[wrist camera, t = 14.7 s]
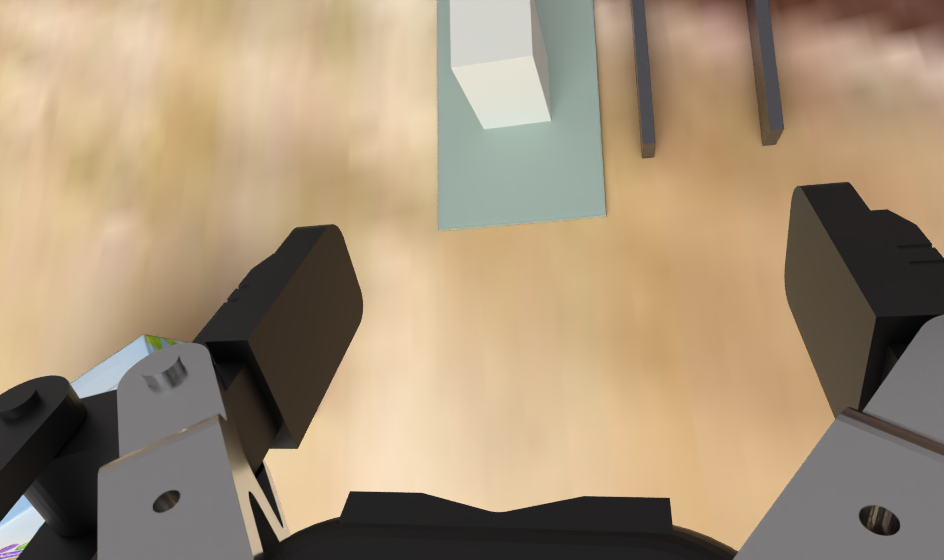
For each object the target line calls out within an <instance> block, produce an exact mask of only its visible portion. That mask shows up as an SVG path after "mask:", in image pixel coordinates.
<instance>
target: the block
mask: <svg viewBox="0 0 944 560" xmlns="http://www.w3.org/2000/svg"><path fill="white" fill-rule="evenodd" d="M450 43H451V69H452V71H453V73H454V75H455V76H456V78H457V80H458V82H459V84H460V86H461V88H462V90H463V91H464V93H465V95H466V97H467V99H468V101H469V103H470V104H471V106H472V108H473V110H474V112H475V114H476V116H477V118H478V119H479V121H480V123H481V125H482V127H483V129H491V128H499V127H507V126H515V125H522V124H530V123H538V122H546V121H551V106H550V87H549V68H548V56H547V52H546V48H545V44H544V39H543V35H542V31H541V27H540V23H539V19H538V15H537V11H536V7H535V3H534V0H450Z"/></svg>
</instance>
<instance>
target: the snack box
mask: <svg viewBox="0 0 944 560" xmlns="http://www.w3.org/2000/svg"><path fill="white" fill-rule="evenodd" d="M181 343H190V342H184V341H178V340H173V339H167V338H161V337H156V336H150V335H142V336H140V337H139V338H137V339H136V340H134V341H133V342H131V343H130V344H128V345H127V346H126V347H124V348H123V349H121V350H120V351H118V352H117V353H115V354H114V355H112V356H111V357H109V358H108V359H106V360H104V361H103V362H101V363H100V364H98V365H97V366H95V367H94V368H92V369H91V370H89V371H88V372H86V373H85V374H83V375H82V376H81V377H79V378H78V379H76V380H75V381H73V382H71V383H70V385H71V386H72V388H73V389H74V391H75V392H76V393H77V395H78V396H79V398H84V397H88V396H92V395H96V394H100V393H104V392H108V391H112V390H116V389H117V387H118V384H119V382H120V380H121V378H122V377H123V375H124V374H125V373H126V372H127V371H128V370H129V369H130V368H131V367H132V366H133V365H135V364H136V363H137V362H138V361H140V360H141V359H143V358H144V357H146V356H148V355H150V354H152V353H153V352H156V351H158V350H160V349H163V348H165V347H168V346H172V345H175V344H181ZM44 522H45V520H44V519H43V518H42V516H41V515H40V514H39V513H38V512H37V510H36V509H35V508H34V507H33V506H32V505H31V503H30V502H29V501H28V500H27V499H26V497H25V496H24V495H22V497H21V498H20V499H19V500H18V501H17V503H16V504H15V505H14V506H13V508H12V509H11V510H10V511H9V512H8V514H7V515H6V516H5V517H4V518H3V520H2V521H1V522H0V560H16V559H17V557H18V556H19V555H20V553H21V552H22V551H23V549H24V548H25V547H26V546H27V544H28V543H29V542H30V540H31V539H32V538H33V536H34V535H35V534H36V532H37V531H38V530H39V528H40V527H41V526H42V524H43V523H44Z"/></svg>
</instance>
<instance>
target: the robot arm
mask: <svg viewBox="0 0 944 560" xmlns="http://www.w3.org/2000/svg"><path fill="white" fill-rule="evenodd" d="M238 286H239V289H235V290H234V292H233V293H232V294H231V295H230V296H229V298H228V299H227V300H228V302H227V303H224V304H223V305H222V306H221V308H220V309H219V310H218V311H217V312H216V314H215V315H214V316H213V317H212V319H211V320H210V321H209V322H208V323H207V325H206V326H205V327H204V328H203V330H202V331H201V332H200V333H199V335H198V336H197V337H196V338H195V339H194V341H193V342H192V343H181V344H175V345H172V346H168V347H165V348H163V349H160V350H158V351H156V352H153V353H152V354H150V355H148V356H146V357H144V358H143V359H141V360H140V361H138V362H137V363H136V364H135V365H133V366H132V367H131V368H130V369H129V370H128V371H127V372H126V373H125V374H124V375H123V377H122V378H121V380H120V382H119V384H118V387H117V389H116V390H112V391H108V392H104V393H100V394H96V395H92V396H88V397H84V398H79V396H78V395H77V393H76V392H75V391H74V389H73V388H72V386H71V385H70V383H69V382H68V380H66V379H65V378H64V377H61V376H44V377H39V378H35V379H32V380H29V381H27V382H24V383H22V384H19V385H17V386H15V387H13V388H11V389H9V390H8V391H6V392H4V393H2V394H1V395H0V522H1V521H2V520H3V518H4V517H5V516H6V515H7V514H8V512H9V511H10V510H11V509H12V508H13V506H14V505H15V504H16V503H17V501H18V500H19V499H20V498H21V497H22V495H24V496H25V497H26V499H27V500H28V501H29V502H30V503H31V505H32V506H33V507H34V508H35V509H36V510H37V512H38V513H39V514H40V515H41V516H42V518H43V519H44V520H45V522H44V523H43V524H42V526H41V527H40V528H39V530H38V531H37V532H36V534H35V535H34V536H33V538H32V539H31V540H30V542H29V543H28V544H27V546H26V547H25V548H24V549H23V551H22V552H21V553H20V555H19V556H18V557H17V559H16V560H944V258H943V257H942V255H941V254H940V253H939V252H938V251H937V249H936V248H932V243H931V242H930V241H929V240H928V239H927V237H926V236H925V235H924V234H923V232H922V231H921V230H920V229H919V228H918V226H917V225H916V224H914V223H912V222H910V221H908V220H906V219H904V218H903V217H901V216H899V215H897V214H895V213H893V212H891V211H889V210H888V209H887V210H873V211H870V209H869V208H868V207H867V205H866V204H865V203H864V201H863V200H862V198H861V197H860V196H859V194H858V193H857V192H856V190H855V189H854V188H853V186H852V185H851V184H850V183H849V182H841V183H829V184H817V185H806V186H797V187H796V188H795V189H794V192H793V195H792V201H791V210H790V220H789V230H788V240H787V251H786V261H785V290H786V296H787V300H788V304H789V307H790V309H791V312H792V314H793V317H794V319H795V321H796V324H797V326H798V329H799V331H800V334H801V336H802V339H803V341H804V344H805V346H806V348H807V351H808V353H809V356H810V358H811V361H812V363H813V366H814V368H815V370H816V373H817V375H818V378H819V380H820V383H821V385H822V388H823V390H824V393H825V395H826V397H827V400H828V402H829V405H830V407H831V410H832V412H833V415H834V417H835V420H834V422H833V423H832V424H831V426H830V427H829V429H828V430H827V431H826V433H825V434H824V435H823V437H822V438H821V440H820V441H819V442H818V444H817V445H816V446H815V448H814V449H813V451H812V452H811V453H810V455H809V456H808V457H807V459H806V460H805V461H804V463H803V464H802V466H801V467H800V468H799V470H798V471H797V472H796V474H795V475H794V477H793V478H792V479H791V481H790V482H789V483H788V485H787V486H786V487H785V489H784V490H783V492H782V493H781V494H780V496H779V497H778V498H777V500H776V501H775V503H774V504H773V505H772V507H771V508H770V509H769V511H768V512H767V513H766V515H765V516H764V518H763V519H762V520H761V522H760V523H759V524H758V526H757V527H756V529H755V530H754V531H753V533H752V534H751V535H750V537H749V538H748V540H747V541H746V542H745V544H744V545H743V546H742V548H741V549H740V550H739V552H738V551H736V550H734V549H733V548H731V547H729V546H727V545H725V544H723V543H721V542H719V541H717V540H715V539H713V538H711V537H709V536H706V535H703V534H701V533H698V532H695V531H692V530H690V529H686V528H682V527H679V526H675V525H672V516H671V506H670V498H644V497H596V496H583V497H578V498H573V499H568V500H563V501H557V502H552V503H547V504H542V505H537V506H532V507H527V508H522V509H517V510H512V511H507V512H491V511H487V510H483V509H480V508H476V507H472V506H468V505H465V504H461V503H457V502H454V501H450V500H446V499H443V498H439V497H435V496H431V495H428V494H424V493H404V492H356V491H350V493H349V495H348V498H347V501H346V503H345V506H344V508H343V511H342V514H341V516H340V517H337V518H333V519H330V520H327V521H323V522H320V523H317V524H314V525H312V526H310V527H307V528H305V529H303V530H300V531H298V532H296V533H295V534H293V535H291V534H290V531H289V528H288V525H287V522H286V519H285V516H284V513H283V510H282V507H281V503H280V500H279V497H278V494H277V491H276V488H275V485H274V482H273V479H272V476H271V473H270V470H269V468H268V466H267V464H266V462H265V460H264V457H265V456H266V454H267V452H268V450H269V449H298V447H299V445H300V443H301V441H302V439H303V437H304V435H305V433H306V431H307V429H308V427H309V425H310V423H311V421H312V419H313V417H314V415H315V413H316V411H317V409H318V407H319V405H320V403H321V401H322V399H323V397H324V395H325V393H326V391H327V389H328V387H329V385H330V383H331V381H332V379H333V377H334V375H335V373H336V371H337V369H338V367H339V365H340V363H341V361H342V359H343V357H344V355H345V353H346V351H347V349H348V347H349V345H350V343H351V341H352V339H353V337H354V335H355V333H356V331H357V329H358V327H359V325H360V322H361V319H362V314H363V299H362V293H361V289H360V286H359V283H358V280H357V277H356V274H355V271H354V268H353V265H352V262H351V259H350V256H349V253H348V250H347V247H346V244H345V240H344V237H343V235H342V233H341V231H340V229H339V228H338V227H337V226H336V225H333V224H330V225H318V226H306V227H297V228H295V229H294V230H293V231H292V232H291V233H290V235H289V236H288V237H287V238H286V240H285V241H284V242H283V243H282V245H281V246H280V247H279V248H278V250H277V251H276V252H275V253H274V254H272V255H271V256H270V257H268V258H267V259H265V260H264V261H263V262H261V263H260V264H258V265H257V266H255V267H254V268H253V269H251V271H250V272H249V273H248V274H247V276H246V277H245V278H244V279H243V281H242V282H241V283H240V284H239V285H238Z"/></svg>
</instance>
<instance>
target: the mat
mask: <svg viewBox="0 0 944 560" xmlns="http://www.w3.org/2000/svg"><path fill="white" fill-rule="evenodd" d="M534 3H535V7H536V11H537V15H538V19H539V23H540V27H541V31H542V35H543V39H544V44H545V48H546V52H547V56H548V68H549V87H550V106H551V121H546V122H538V123H530V124H522V125H515V126H507V127H499V128H491V129H483V127H482V125H481V123H480V121H479V119H478V118H477V116H476V114H475V112H474V110H473V108H472V106H471V104H470V103H469V101H468V99H467V97H466V95H465V93H464V91H463V90H462V88H461V86H460V84H459V82H458V80H457V78H456V76H455V75H454V73H453V71H452V69H451V43H450V0H437V78H438V230H439V231H447V230H458V229H470V228H482V227H494V226H505V225H517V224H529V223H541V222H552V221H564V220H576V219H588V218H599V217H606V208H605V191H604V175H603V159H602V142H601V126H600V110H599V93H598V77H597V61H596V44H595V28H594V12H593V0H534Z"/></svg>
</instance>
